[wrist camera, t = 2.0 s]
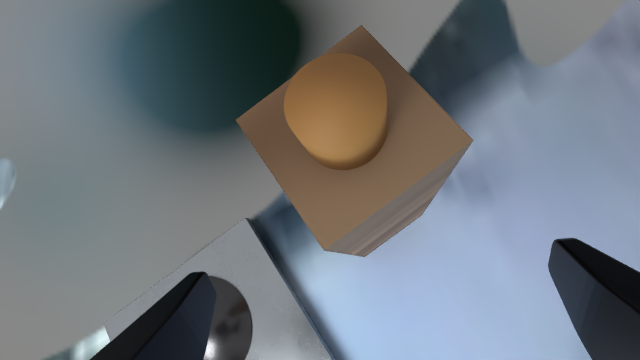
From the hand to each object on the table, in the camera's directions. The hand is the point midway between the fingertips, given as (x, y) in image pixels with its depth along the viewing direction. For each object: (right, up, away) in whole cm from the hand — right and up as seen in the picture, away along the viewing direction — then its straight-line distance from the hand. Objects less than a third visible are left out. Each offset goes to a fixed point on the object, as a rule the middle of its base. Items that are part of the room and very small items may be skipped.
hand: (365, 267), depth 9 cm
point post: (+2, +1, +11) cm, 11 cm away
